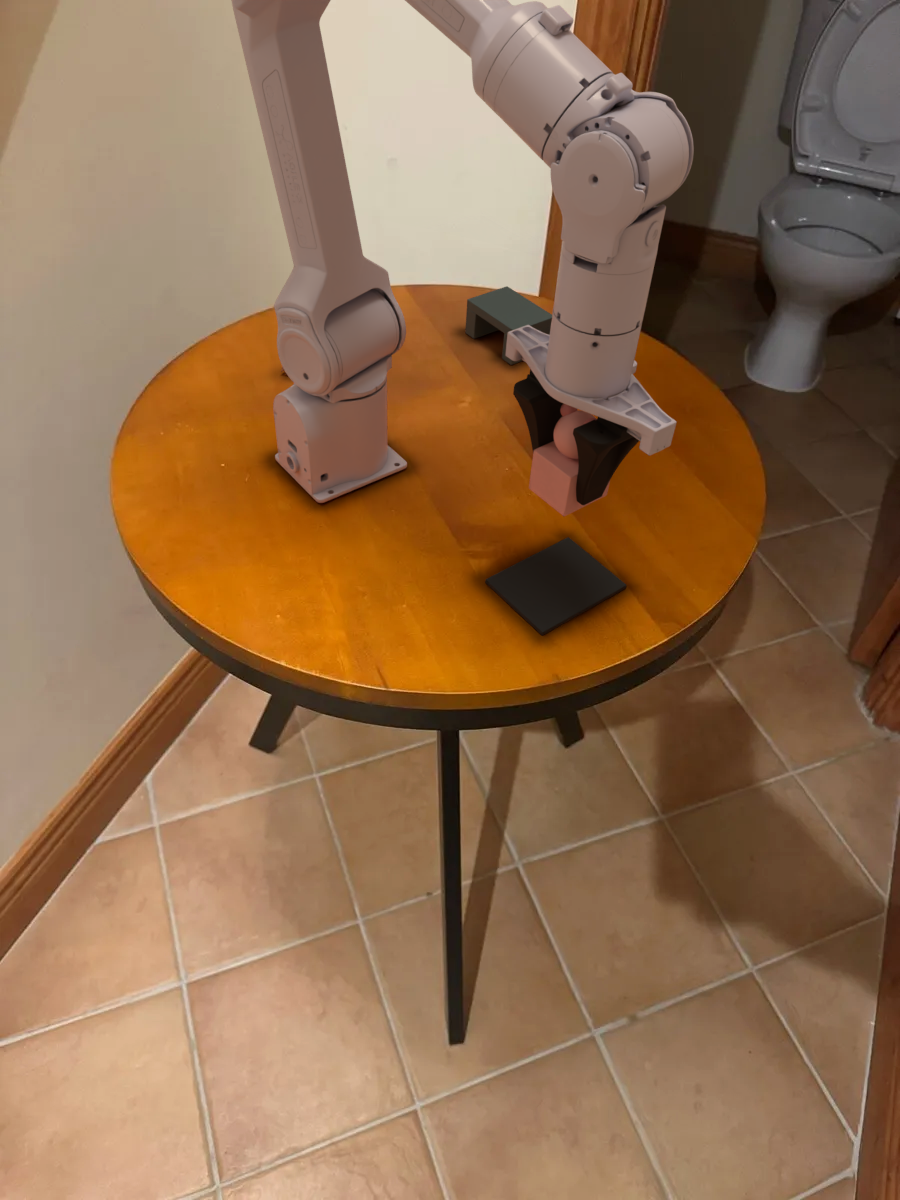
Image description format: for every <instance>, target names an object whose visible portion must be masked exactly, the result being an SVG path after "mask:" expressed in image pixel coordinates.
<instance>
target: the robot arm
mask: <svg viewBox="0 0 900 1200" xmlns="http://www.w3.org/2000/svg"><path fill="white" fill-rule="evenodd" d="M331 1H332V0H231V6H232V10H233V15H234V19H235V23H236V28H237V32H238V36H239V40H240V44H241V48H242V53H243V57H244V61H245V65H246V70H247V74H248V78H249V82H250V87H251V91H252V95H253V99H254V103H255V108H256V112H257V117H258V120H259V124H260V125H259V126H260V128H261V129H260V130H261V133H262V137H263V141H264V145H265V151H266V155H267V158H268V162H269V167H270V171H271V175H272V179H273V184H274V188H275V192H276V196H277V200H278V204H279V209H280V213H281V218H282V221H283V226H284V229H285V235H286V239H287V242H288V247H289V251H290V256H291V261H292V263H293V264H292V265H293V267H292V270H291V272H290V273H289V276H288V277H287V279H286V281H285V283H284V284H283V286H282V288H281V290H280V291H279V294H278V295H277V298H276V300H275V301H274V304H273V308H274V312H275V316H276V321H277V336H276V349H277V355H278V358H279V361H280V364H281V368H282V367H283V369H284V370H285V371H284V372H285V374H286V375H287V376H288V379H290V380H291V382H292V383H293V384H292V385H290V386H289V387H288V388H286V389H285V390H283V391H280V392H279V393H277V394H276V395H275V397H274V398H273V403H272V404H273V406H272V409H273V418H274V428H275V436H276V437H275V438H276V445H277V453H276V454H275V455H274V459H275V461H276V462H277V463H278V464H279V465H280V466H281V468H283V469H284V470H285V471H286V472H287V473H288V474H289V475H290V476H291V477H292V478H293V479H294V480H295V481H296V482H297V483H298V484H299V485H300V486H301V487H302V488H303V490H305V492H307V493H308V495H310V497H312V498H313V500H315V502H317V503H318V504H323V503H326V502H328V501H331V500H333V499H336V498H338V497H340V496H344V495H345V494H347V493H350V492H352V491H354V490H357V489H360V488H362V487H365V486H366V485H369V484H371V483H374V482H376V481H379V480H381V479H383V478H385V477H388V476H391V475H393V474H395V473H398V472H400V471H402V470H405V469H407V467H408V462H407V461H406V459H404V458H403V457H402V456H401V455H400V454H399V453H398V452H396V451H395V450H394V449H393V448H392V447H390V445H388V444H389V443H388V372H389V371H390V370H391V369H392V368H393V355H394V354H396V353H398V352H399V351H400V350H401V349H402V348H403V346H404V344H405V342H406V338H407V337H406V336H407V325H406V320H405V316H404V313H403V310H402V308H401V306H400V304H399V303H398V300H397V299H396V297H395V294H394V292H393V289H392V287H391V280H390V274H389V272H388V270H387V269H385V268H384V267H383V266H381V265H379V264H378V263H376V262H374V261H372V260H370V259H369V258H367V257H365V256H364V253H363V248H362V242H361V237H360V232H359V227H358V220H357V215H356V210H355V206H354V201H353V200H354V199H353V195H352V190H351V185H350V179H349V173H348V167H347V163H346V158H345V153H344V147H343V142H342V137H341V130H340V126H339V121H338V116H337V109H336V105H335V100H334V94H333V90H332V84H331V79H330V73H329V68H328V63H327V58H326V52H325V47H324V42H323V37H322V31H321V25H320V21H321V18H322V16H323V14H324V13H325V11H326V9H327V7H328V6H329V4H330V2H331ZM404 1H405V2H406V3H407V4H408V5H409V6H411V8H413V9H414V10H415V11H416V12H417V13H419V14H420V15H421V16H422V17H423V18H424V19H426V20H427V21H428V22H429V23H430V24H431V25H433V26H434V27H435V29H437V30H438V31H439V32H440V33H442V34H443V36H445V37H446V38H447V39H448V40H450V42H451V43H453V44H454V45H455V46H456V47H458V48H459V49H460V50H461V51H462V52H463V53H465V54H466V55H467V56H468V57H469V58H470V61H471V77H472V85H473V87H472V88H473V90H474V92H475V95H477V96H478V97H479V98H480V99H481V101H483V102H484V103H485V104H486V105H487V106H488V107H489V109H491V111H493V113H494V114H495V115H497V116H498V117H499V118H500V119H501V120H502V121H503V122H504V124H505V125H507V126H508V127H509V129H511V130H512V131H513V132H514V134H516V135H517V137H519V138H520V139H521V140H522V141H523V142H524V143H525V144H526V146H527V147H529V148H530V149H531V151H532V152H533V153H535V155H537V156H538V158H539V159H540V160H541V161H543V163H544V164H545V165H546V166H547V167H548V168H549V169H550V183H551V189H552V192H553V196H554V199H555V201H556V203H557V205H558V208H559V210H560V213H561V216H562V225H561V233H560V240H561V246H560V247H561V248H560V254H559V262H558V271H557V278H556V286H555V293H554V299H553V300H554V301H553V306H552V307H553V308H552V312H551V314H552V321H551V328H550V335H548V334H546V333H543V332H541V331H539V330H537V329H535V328H533V327H531V326H530V325H526V326H523V327H521V328H518V329H515V330H512V331H509V332H508V334H507V344H506V354H505V356H507V357H508V358H510V359H511V360H512V361H519V360H521V359H522V360H523V361H522V362H524V363H526V364H527V366H528V368H529V373H528V374H527V375H526V378H524V379H521V380H519V381H517V382H516V383H515V384H514V385H513V393H512V394H513V397H514V398H515V400H516V401H517V404H518V406H519V407H520V410H521V411H522V414H523V416H524V417H523V418H524V419H525V422H526V426H527V430H528V433H529V437H530V442H531V449H532V454H533V453H534V450H535V449H537V448H539V447H541V446H544V445H546V444H548V443H550V442H553V441H554V429H555V426H556V424H557V422H558V420H559V419H560V418H561V417H562V415H561V412H560V409H561V406H562V404H563V403H564V404H566V405H569V406H571V407H574V408H577V410H580V411H585V412H587V413H590V414H592V415H593V416H594V417H597V418H596V419H597V420H592V421H590V422H588V423H586V424H583V425H581V426H579V427H577V428H574V430H573V435H574V438H575V441H576V445H577V451H578V476H577V483H576V498H577V502H579V503H580V504H581V505H586V504H588V503H590V502H592V501H594V500H596V499H598V498H600V497H602V495H603V493H604V491H605V489H606V487H607V485H608V483H609V481H610V482H611V479H612V477H614V474H615V473H616V471H617V470H618V467H620V465H621V464H622V462H623V461H624V459H625V458H626V457H627V455H628V454H630V452H631V451H632V450H633V448H634V447H635V446H637V444H638V443H639V447H638V448H639V450H640V451H642V452H643V453H645V454H647V455H648V456H652V455H655V454H656V453H659V452H661V451H663V450H665V449H667V448H669V447H670V446H672V441H673V438H674V434H675V430H676V426H677V422H678V421H676V420H675V419H674V418H673V417H671V416H670V415H668V414H667V413H666V412H665V411H664V410H663V409H662V408H661V407H660V406H659V404H657V402H656V401H655V400H654V399H653V397H652V396H651V395H650V393H649V392H648V391H647V390H646V389H645V387H644V386H643V385H642V384H641V382H640V381H639V380H638V379H637V377H635V375H634V374H635V373H636V372H637V367H638V362H637V361H636V360H635V359H636V354H637V348H638V344H639V340H640V334H641V331H642V326H643V321H644V316H645V312H646V307H647V303H648V298H649V293H650V287H651V283H652V278H653V274H654V269H655V268H654V267H655V264H656V260H657V255H658V250H659V245H660V244H659V243H660V239H661V234H662V229H663V225H664V220H665V215H666V212H667V211H666V210H667V206H666V205H665V204H660V203H662V202H664V201H665V200H667V199H669V198H670V197H671V196H672V195H673V194H675V192H677V190H678V189H680V188H681V186H682V185H683V184H684V182H685V181H686V180H687V177H688V176H689V174H690V171H691V168H692V166H693V161H694V153H695V152H694V151H695V150H694V149H695V147H694V146H695V145H694V138H693V134H692V131H691V130H692V129H691V127H690V125H689V123H688V120H687V119H686V117H685V116H684V115H683V113H682V112H681V111H680V110H679V108H678V106H677V104H676V102H675V100H674V99H673V98H672V97H670V96H669V95H666V94H664V93H660V92H656V91H643V92H642V91H640V92H638V91H636V90H633V82H632V81H631V80H630V79H629V78H628V77H627V76H626V75H625V74H624V73H623V72H619V73H616V74H615V73H614V72H613V71H612V70H611V69H610V68H609V67H608V66H607V65H606V64H605V63H604V62H603V61H602V60H601V59H600V58H599V57H598V56H597V55H596V54H595V53H594V52H593V51H592V50H591V49H589V47H588V46H587V45H586V44H585V43H584V42H583V41H582V40H581V39H580V38H578V36H577V35H576V34H575V33H574V32H573V31H572V30H571V28H572V26H573V24H574V18H573V17H572V16H571V15H570V14H569V13H568V12H567V11H566V10H565V9H564V8H563V7H562V6H561V5H560V4H559V5H558V4H557V5H555V6H551V7H547V6H546V5H545V4H544V3H543V2H541V1H538V0H537V1H536V0H535V1H533V0H532V1H526V2H521V3H518V4H512V3H511V2H510V1H509V0H404ZM659 204H660V205H659ZM609 484H610V483H609ZM602 498H603V497H602ZM600 499H601V498H600ZM598 500H599V499H598ZM596 501H597V500H596ZM594 502H595V501H594ZM592 503H593V502H592ZM590 504H591V503H590ZM588 505H589V504H588ZM586 506H587V505H586Z"/></svg>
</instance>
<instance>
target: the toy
mask: <svg viewBox="0 0 900 1200" xmlns="http://www.w3.org/2000/svg"><path fill="white" fill-rule="evenodd" d="M560 412H561V415H562V417H561V418H560V419H559V420H558V422H557V424H556V426H555V429H554V441H553V442H550V443H548V444H546V445H544V446H541V447H539V448H537V449H535V450H534V453H533V452H532V462H531V469H530V476H529V482H528V490H530V491H531V492H533V493H534V494H535V495H536V496H537V497H539V498H540V499H541V500H542V501H544V502H545V503H546V504H548V505H549V506H550V507H551V508H552V509H554V510H555V511H556V512H557V513H559V514H560V515H561V516H562V517H566V516H569V515H570V514H572V513H574V512H576V511H578V510H580V509H582V508H585V507H587V506H588V505H591V504H592V503H595V502H597V501H598V500H600V499H603V498H604V497H606V496H607V495H608V492H609V487H610V483H611V480H610V481H609V483H608V485H607V487H606V489H605V491H604V493H603V495H602V497H600V498H598V499H596V500H594V501H592V502H590V503H588V504H586V505H581V504H580V503H579V502H577V498H576V483H577V476H578V451H577V445H576V441H575V438H574V435H573V430H574V428H577V427H579V426H581V425H583V424H586V423H588V422H590V421H592V420H597V419H598V418H596V416H595V415H592V414H590V413H587V412H585V411H582V410H579V409H577V408H574V407H571V406H569V405H566V404H564V403H563V404H562V406H561V409H560Z"/></svg>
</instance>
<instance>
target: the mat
mask: <svg viewBox="0 0 900 1200" xmlns="http://www.w3.org/2000/svg"><path fill="white" fill-rule="evenodd" d="M484 583H485V584H486V585H487V586H488V587H489V588H490V589H491V590H492V591H494V592H495V594H497V595H498V596H499V597H500V598H501V600H503V601H504V602H505V603H506V604H508V606H510V607H511V608H512V609H513V610H514V611H515V612H516V613H517V614H518V615H519V616H520V617H522V619H524V621H526V622H527V623H528V624H529V625H530V626H531V627H532V628H533V629H534V630H536V631H537V632H538V633H539V634H540V635H541V636H544V635H546V634H548V633H549V632H551V631H553V630H555V629H556V628H558V627H560V626H561V625H564V624H565V623H568V622H569V621H570V620H572V619H574V618H576V617H578V616H580V615H581V614H583V613H584V612H587V611H589V610H591V609H592V608H593V607H595V606H597V605H599V604H601V603H603V602H604V601H606V600H608V599H609V598H611V597H613V596H615V595H617V594H618V593H620V592H622V591H623V590H626V589H627V586H628V585H627V584H626V583H625V582H624V581H623V580H621V578H619V577H618V576H617V575H615V574H614V573H613V572H612V571H610V570H609V569H608V568H607V567H605V566H604V565H603V564H602V563H601V562H600V561H598V560H597V559H596V558H595V557H594V556H592V554H590V553H589V552H587V551H586V550H585V549H584V548H583V547H581V546H580V545H579V544H577V542H575V541H574V540H573V539H572V538H570V537H569V536H568V537H566V538H564V539H562V540H559V541H557V542H556V543H554V544H552V545H550V546H547V547H546V548H544V549H542V550H540V551H538V552H536V553H534V554H532V555H530V556H528V557H526V558H524V559H522V560H520V561H518V562H516V563H515V564H513V565H511V566H508V567H507V568H504V569H503V570H500V571H499V572H497V573H495V574H493V575H491V576H489V577H487V578H485V581H484Z"/></svg>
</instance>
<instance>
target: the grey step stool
mask: <svg viewBox="0 0 900 1200" xmlns="http://www.w3.org/2000/svg"><path fill="white" fill-rule="evenodd" d="M465 314H466V315H465V331H464V332H465V334H466V335H468V336H469V337H471V339H473V340H474V339H475V340H476V339H477V338H480V337H483V336H485V335H489V334H492V333H495V332H498V331H500V332H502V333H503V343H502V353H501V359H502V360H503V361H505V362H506V363H507V364H509V365H510V366H513V365H516V364H518V363H521V362H524V361H523V360H522V359H521V360H519V361H512V360H511V359H510V358H508V357H507V356H505V354H506V344H507V334H508V332H509V331H512V330H515V329H518V328H521V327H523V326H526V325H530V326H531V327H533V328H535V329H537V330H539V331H541V332H543V333H546V334H548V335H550V328H551V321H552V313H550V312H548V311H547V310H545V308H542V307H541V306H540V305H538V304H536V303H535V302H533V301H531V300H530V299H528V298H526V297H525V296H524V295H522V294H520V293H519V292H517V291H516V290H513V289H512V288H511V287H509V286H504V287H500V288H498V289H494V290H491V291H488V292H485V293H481V294H479V295H475V296H473V297H470V298H467V300H466V313H465Z"/></svg>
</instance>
